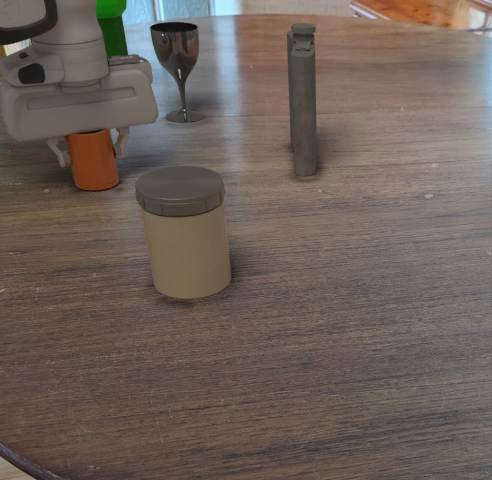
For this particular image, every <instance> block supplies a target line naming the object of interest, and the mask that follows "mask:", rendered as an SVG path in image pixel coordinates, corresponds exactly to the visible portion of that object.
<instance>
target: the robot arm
mask: <svg viewBox="0 0 492 480" xmlns="http://www.w3.org/2000/svg"><path fill="white" fill-rule="evenodd" d="M28 40H31V44H30V45H28V46H26V47H24V48H22V49H19V50H17V51H15V52H13V53H10V54H8V55H5V56H4V57H2V58H1V59H0V72H1V75H2V76H3V78H4V80H2V82H1V84H0V110H1V115H2V120H3V121H2V122H3V125H4V128H5V132H6V133H7V135H8V136H9V138H11V139H12V140H14V141H15V142H18V143H23V142H28V141H29V142H30V141H37V140H43V139H44V142H45V143H46V145H47V146H48V147H49V148H50V149H51V150H52V152H54V153H55V154H56V157H57V162H58V164H59V167H60V168H62V169H63V168H67V167H70V166H72V162H71V161H70V160H71V157H70V154H69V153H68V152H67V150H61V149H60V148H59V147H58V146H57V145H59V144H60V143H59V138H58V137H64V136H66V135H70V134H80V133H87V132H94V131H101V130H104V129H110V130H116V132H117V133H118V135H117V138H116V140H115V141H116V142H113V147H114V152H115V158H116V160H118V159H124V158H126V149H125V146H126V145H127V142H128V140H129V138H130V135H131V133H130V127H136V126H142V125H143V126H144V125H149V124H151V125H152V124H154V123H156V121H157V119H158V117H159V110H158V109H159V108H158V105H157V101H156V97H155V93H154V90H153V87H152V83H153V79H154V75H153V68H152V65H151V63H150V61H149V60H148V59H146V58H145V57H144V56H143V57H142V56H140V55H139V54H138V53H137V54H136V53H132V54H128V55H129V56H108V57H107V56H106V50H105V45H104V39H103V33H102V30H101V28H100V26H99V24H98V21H97V17H96V0H0V46H9V45H14V44H17V43H20V42H23V41H28Z"/></svg>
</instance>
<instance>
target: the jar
mask: <svg viewBox="0 0 492 480" xmlns="http://www.w3.org/2000/svg"><path fill="white" fill-rule="evenodd" d="M225 207H226V206H225V199H224V200H223V201H222V203H221V204H220V205H218V206H217V207H215V208H213V209H211V210H209V211H206V212H203V213H199V214H193V215H187V216H166V215H159V214H155V213H151V212H148V211H146V210H144V209H143V208H142V207H141V206H140V205H139V209H140V215H141V221H142V226H143V232H144V238H145V245H146V248H147V254H148V260H149V265H150V271H151V277H152V284H153V287H154V288H155V290H156V291H157V292H159V293H160V294H162V295H164V296H165V297H169V298H173V299H181V300H194V299H202V298H207V297H210V296H212V295H215V294H218V293H220V292H222V291H223V290H225V289H226V288H227V287H229V285H230V283H231V281H232V269H231V268H232V267H231V257H230V248H229V238H228V227H227V217H226V210H225V209H226V208H225Z"/></svg>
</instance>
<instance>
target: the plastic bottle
mask: <svg viewBox="0 0 492 480" xmlns="http://www.w3.org/2000/svg"><path fill="white" fill-rule="evenodd" d="M127 1H128V0H96V17H97V21H98V24H99V26H100V28H101V30H102V33H103V39H104V45H105V50H106V56H107V57H108V56H129V55H130V54H129V51H128V44H127V37H126V32H125V26H124V20H123V14H124V12H125V11H126V10H127V6H128V5H127Z"/></svg>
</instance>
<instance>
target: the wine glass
mask: <svg viewBox="0 0 492 480" xmlns="http://www.w3.org/2000/svg"><path fill="white" fill-rule="evenodd" d="M149 31H150V37H151V43H152V46H153V50H154V53H155V55H156V56H155V57H156V59H157V61H158V63H159V64H160V65H161V67H162V68H163V69H164V70H166V72H167V73H168V74H169V75H170V76H171V77H172V78H173V80H174V81H175V83H176V86H177V88H178V92H179V96H180V103H181V109H178V110H173V111H170V112H167V113H166V114H165V116H164V118H165V119H166V120H167V121H170V122H174V123H194V122H198V121H201V120H203V119H205V117H206V114H205V112H203V111H201V110H198V109H197V110H196V109H189V108H188V107H187V102H186V82H187V80H188V77H189V76H190V75H191V73H192V71H193V70H194V68H195V67H196V65H197V63H198V60H199V57H200V56H199V55H200V34H199V33H200V32H199V26H198V25H197V24H195V23H191V22H184V21H165V22H158V23H155V24H152V25H150V26H149Z"/></svg>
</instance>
